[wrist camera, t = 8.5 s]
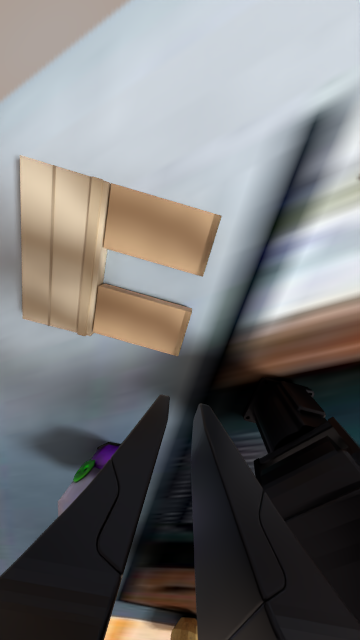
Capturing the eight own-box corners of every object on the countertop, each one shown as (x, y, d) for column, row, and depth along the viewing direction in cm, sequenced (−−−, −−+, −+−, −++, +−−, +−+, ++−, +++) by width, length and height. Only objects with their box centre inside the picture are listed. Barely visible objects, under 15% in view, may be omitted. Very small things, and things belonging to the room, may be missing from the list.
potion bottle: (101, 424, 26) (35, 556, 15) (154, 451, 28) (131, 590, 16) (76, 459, 29) (5, 593, 18) (126, 482, 30) (90, 620, 19)
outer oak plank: (202, 274, 18) (202, 276, 17) (110, 248, 18) (103, 247, 17) (219, 218, 17) (221, 215, 15) (118, 188, 17) (111, 183, 15)
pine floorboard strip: (96, 330, 21) (88, 337, 20) (33, 313, 21) (20, 319, 19) (115, 188, 17) (107, 181, 15) (34, 163, 16) (16, 153, 15)
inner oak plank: (179, 349, 21) (178, 356, 20) (99, 327, 21) (92, 332, 20) (192, 308, 20) (191, 312, 18) (105, 283, 19) (98, 285, 18)
